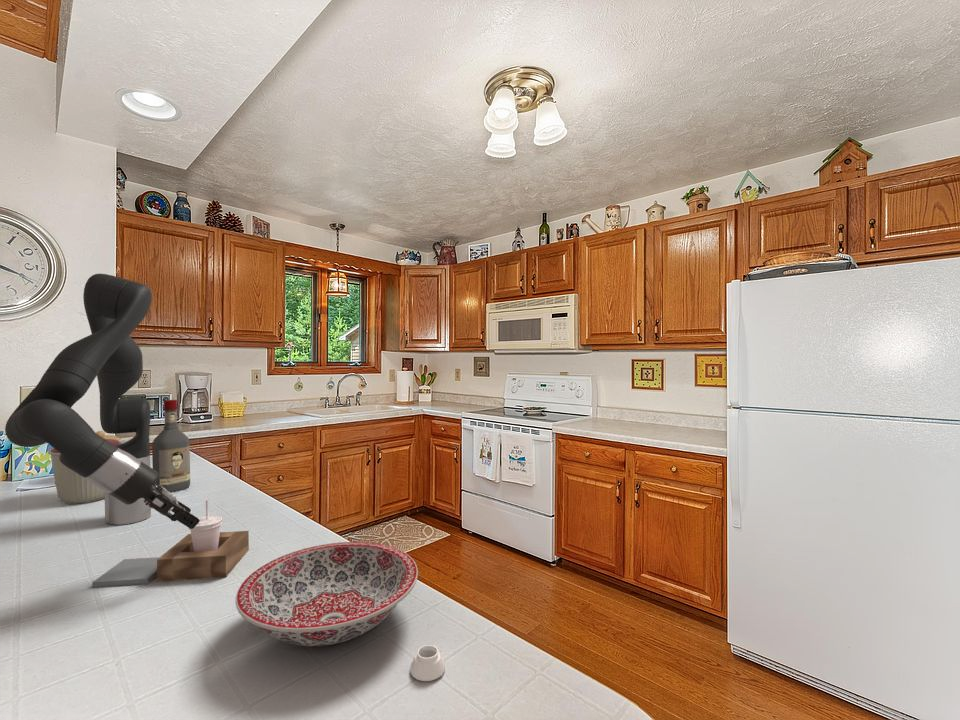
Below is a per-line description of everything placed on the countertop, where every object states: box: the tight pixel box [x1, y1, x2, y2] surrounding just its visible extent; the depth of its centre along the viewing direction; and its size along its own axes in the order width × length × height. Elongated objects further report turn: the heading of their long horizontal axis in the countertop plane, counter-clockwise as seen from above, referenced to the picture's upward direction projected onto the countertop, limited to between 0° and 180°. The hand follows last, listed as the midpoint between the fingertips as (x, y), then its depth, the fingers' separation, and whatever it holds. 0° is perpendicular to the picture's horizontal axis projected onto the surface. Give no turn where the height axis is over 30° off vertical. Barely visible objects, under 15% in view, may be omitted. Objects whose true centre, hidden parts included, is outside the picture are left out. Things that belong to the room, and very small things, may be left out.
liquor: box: [151, 399, 191, 494], centre depth 154 cm, size 9×9×30 cm
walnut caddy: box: [156, 530, 250, 582], centre depth 100 cm, size 13×13×4 cm
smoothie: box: [187, 499, 224, 552], centre depth 100 cm, size 6×6×14 cm
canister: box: [46, 439, 123, 505], centre depth 144 cm, size 18×18×21 cm
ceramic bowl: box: [235, 541, 419, 647], centre depth 78 cm, size 29×29×8 cm
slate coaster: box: [91, 556, 161, 588], centre depth 96 cm, size 10×10×1 cm
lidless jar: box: [409, 644, 446, 682], centre depth 67 cm, size 5×3×5 cm
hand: (191, 519), depth 98 cm, fingers open, 8 cm apart
